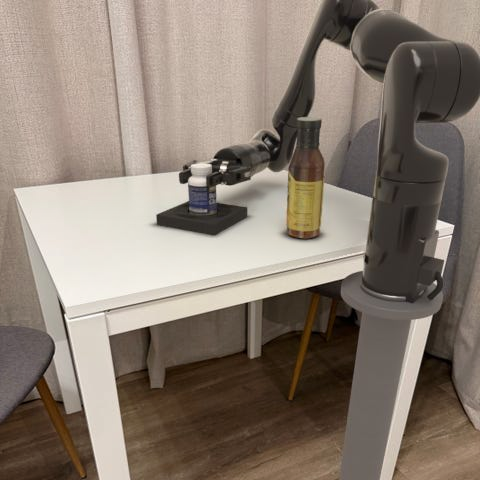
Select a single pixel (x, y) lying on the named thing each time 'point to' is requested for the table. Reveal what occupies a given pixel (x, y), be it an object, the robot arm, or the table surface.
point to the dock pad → (202, 218)
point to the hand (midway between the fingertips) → (194, 180)
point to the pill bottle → (201, 191)
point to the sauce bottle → (305, 181)
